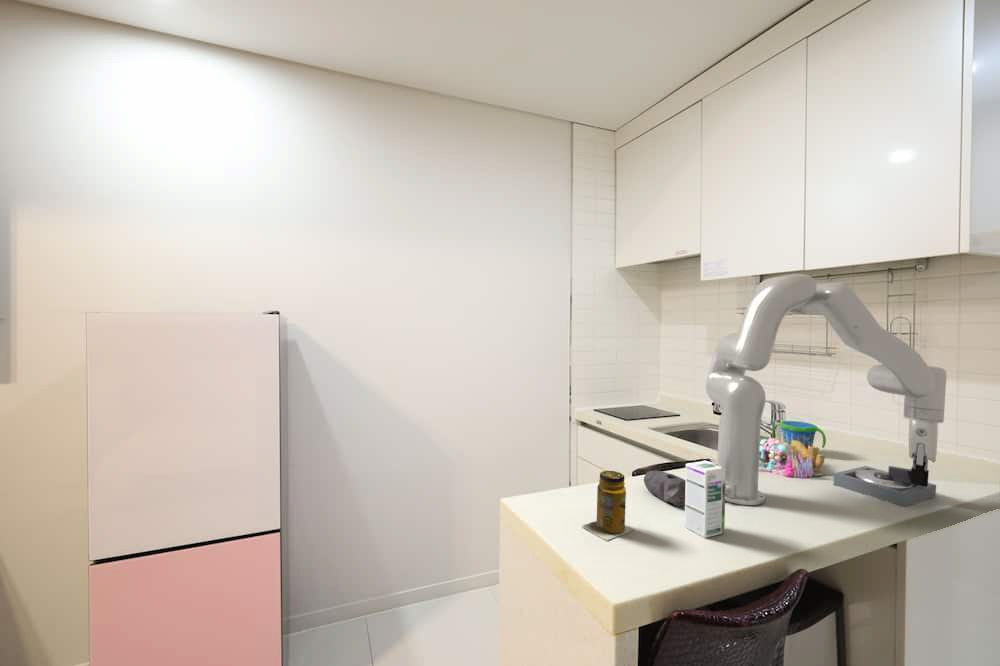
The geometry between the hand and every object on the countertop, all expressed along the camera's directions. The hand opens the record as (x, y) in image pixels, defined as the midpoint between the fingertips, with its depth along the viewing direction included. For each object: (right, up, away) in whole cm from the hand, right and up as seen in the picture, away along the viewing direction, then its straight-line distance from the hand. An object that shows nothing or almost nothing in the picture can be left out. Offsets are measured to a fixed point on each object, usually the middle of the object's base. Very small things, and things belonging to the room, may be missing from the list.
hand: (919, 484), depth 115 cm
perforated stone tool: (-66, -4, -2) cm, 66 cm away
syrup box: (-64, -4, -18) cm, 67 cm away
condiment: (-85, -4, -18) cm, 87 cm away
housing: (-4, -4, +7) cm, 8 cm away
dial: (-3, -2, +6) cm, 7 cm away
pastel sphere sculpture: (-21, -3, +27) cm, 34 cm away
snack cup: (-5, -3, +40) cm, 40 cm away
